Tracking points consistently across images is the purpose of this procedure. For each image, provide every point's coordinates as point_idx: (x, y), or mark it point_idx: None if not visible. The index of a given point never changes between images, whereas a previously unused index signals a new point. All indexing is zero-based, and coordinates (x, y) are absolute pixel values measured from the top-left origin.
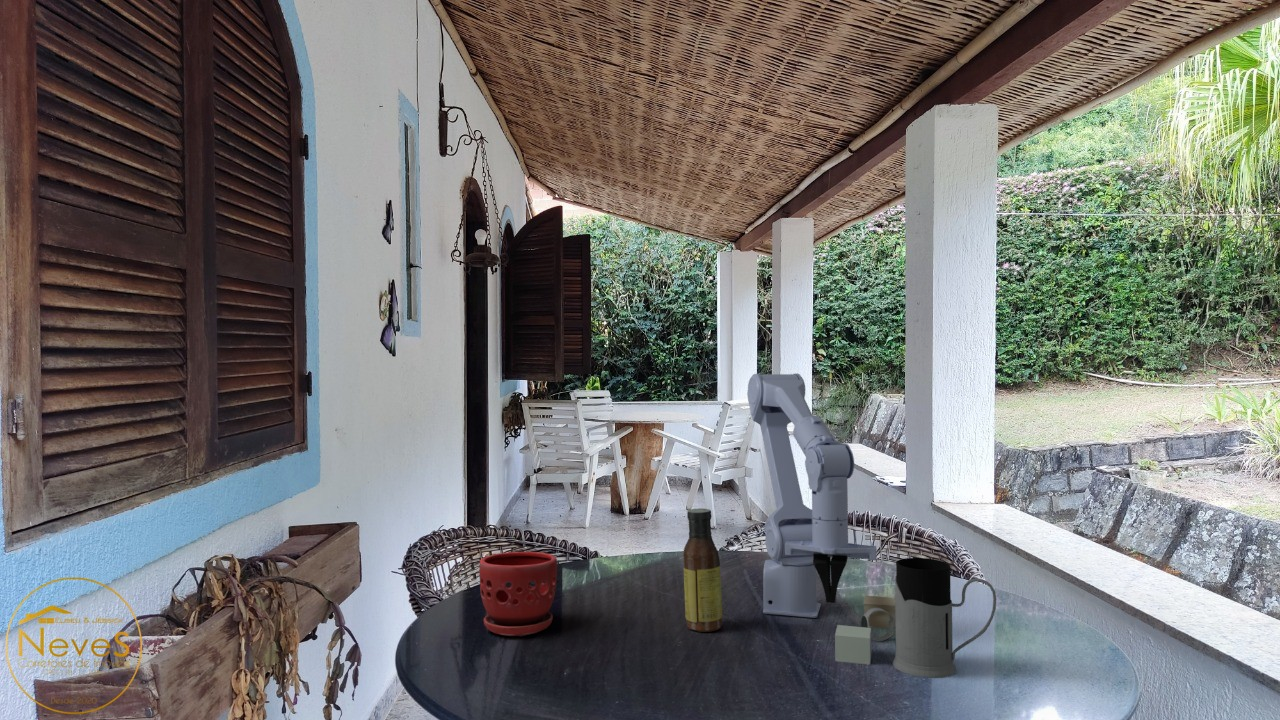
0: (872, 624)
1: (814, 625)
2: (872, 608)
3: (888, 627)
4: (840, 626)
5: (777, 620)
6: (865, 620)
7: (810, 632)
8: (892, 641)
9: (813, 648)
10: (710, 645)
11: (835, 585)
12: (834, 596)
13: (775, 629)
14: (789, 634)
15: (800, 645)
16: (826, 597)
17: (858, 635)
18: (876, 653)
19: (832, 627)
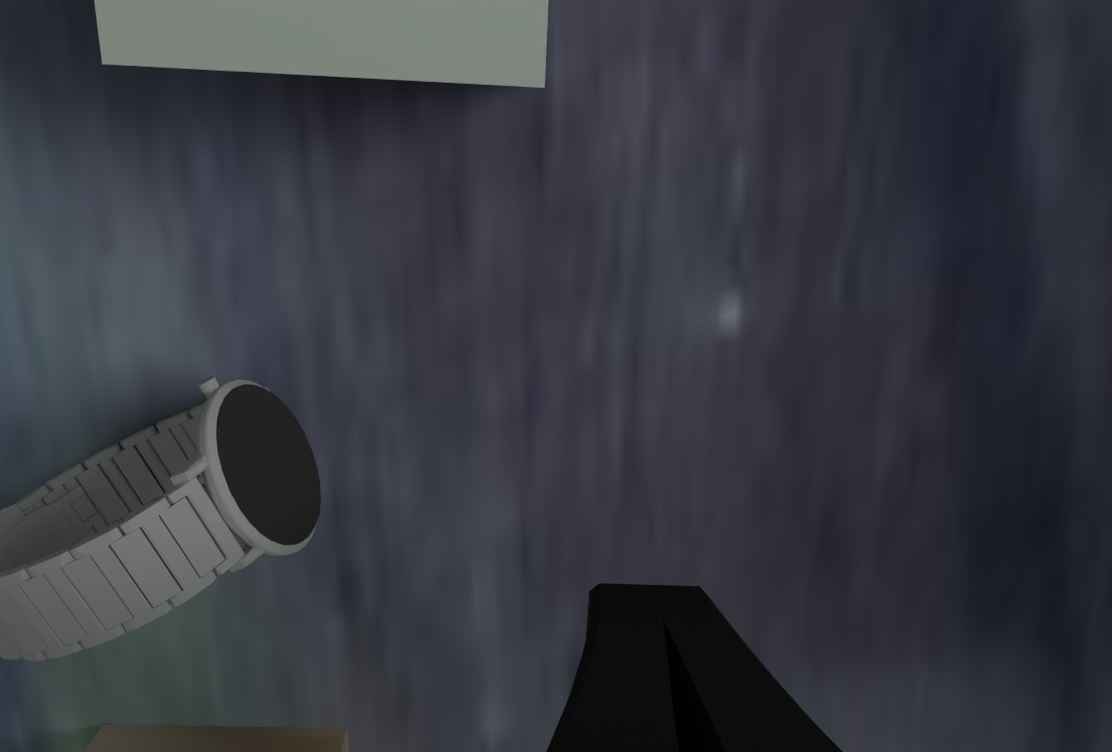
0: (276, 742)
1: None
2: (129, 622)
3: (153, 731)
4: (502, 32)
5: (1047, 710)
6: (241, 462)
7: (788, 495)
8: (77, 434)
9: (779, 59)
10: None
11: (592, 735)
12: (599, 625)
13: (1093, 500)
14: (980, 402)
15: (903, 119)
16: (716, 614)
17: None
18: None
19: None
